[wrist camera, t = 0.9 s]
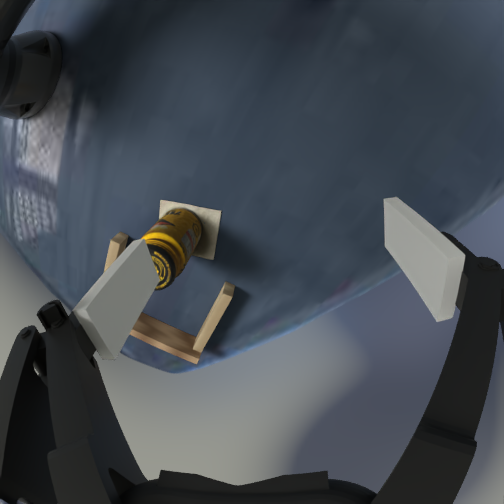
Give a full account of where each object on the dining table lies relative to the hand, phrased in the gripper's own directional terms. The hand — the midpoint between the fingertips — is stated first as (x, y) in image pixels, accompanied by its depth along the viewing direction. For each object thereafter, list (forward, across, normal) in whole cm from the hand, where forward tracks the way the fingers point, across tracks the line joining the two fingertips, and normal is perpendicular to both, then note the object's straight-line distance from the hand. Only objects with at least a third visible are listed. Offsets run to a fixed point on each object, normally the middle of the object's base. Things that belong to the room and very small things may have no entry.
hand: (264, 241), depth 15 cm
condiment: (+23, -12, -6) cm, 27 cm away
